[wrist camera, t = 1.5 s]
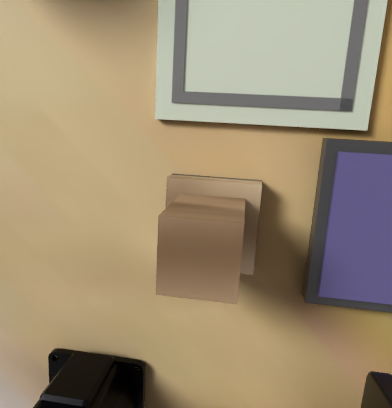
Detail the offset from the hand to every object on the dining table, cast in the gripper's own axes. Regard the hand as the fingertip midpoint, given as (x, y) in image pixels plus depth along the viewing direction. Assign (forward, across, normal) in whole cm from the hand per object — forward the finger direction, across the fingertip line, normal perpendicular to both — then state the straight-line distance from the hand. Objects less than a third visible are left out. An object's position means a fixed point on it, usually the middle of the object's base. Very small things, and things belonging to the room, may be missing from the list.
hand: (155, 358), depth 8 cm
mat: (+13, -2, -10) cm, 17 cm away
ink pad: (+13, -9, 0) cm, 16 cm away
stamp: (+13, 0, +1) cm, 13 cm away
